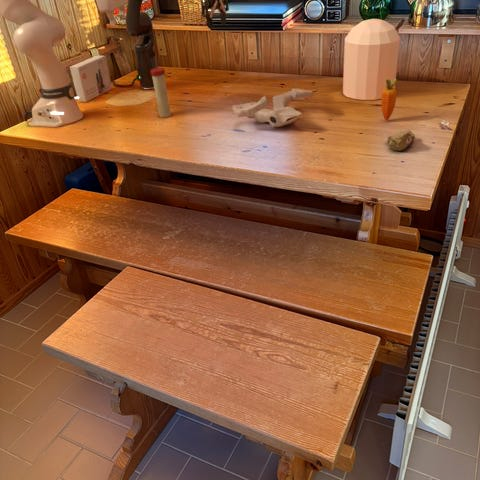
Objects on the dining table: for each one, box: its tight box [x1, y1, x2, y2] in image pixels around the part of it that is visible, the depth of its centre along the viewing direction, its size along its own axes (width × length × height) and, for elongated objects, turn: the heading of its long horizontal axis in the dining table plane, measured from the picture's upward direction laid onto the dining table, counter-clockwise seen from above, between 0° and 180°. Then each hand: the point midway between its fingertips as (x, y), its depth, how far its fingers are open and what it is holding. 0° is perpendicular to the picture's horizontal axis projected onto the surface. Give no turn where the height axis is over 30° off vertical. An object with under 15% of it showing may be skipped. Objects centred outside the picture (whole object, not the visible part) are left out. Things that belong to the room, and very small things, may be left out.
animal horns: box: [231, 88, 314, 128], centre depth 171 cm, size 28×26×12 cm
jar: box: [152, 73, 172, 119], centre depth 185 cm, size 5×5×18 cm
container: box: [342, 18, 401, 101], centre depth 185 cm, size 21×21×28 cm
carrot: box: [380, 78, 398, 122], centre depth 161 cm, size 5×5×15 cm
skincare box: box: [69, 54, 113, 103], centre depth 218 cm, size 21×6×16 cm, turn 158°
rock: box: [387, 129, 416, 152], centre depth 146 cm, size 11×6×10 cm
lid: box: [150, 67, 166, 76], centre depth 180 cm, size 6×6×2 cm
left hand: (118, 22), depth 164 cm, fingers open, 8 cm apart
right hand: (217, 25), depth 186 cm, fingers open, 8 cm apart
